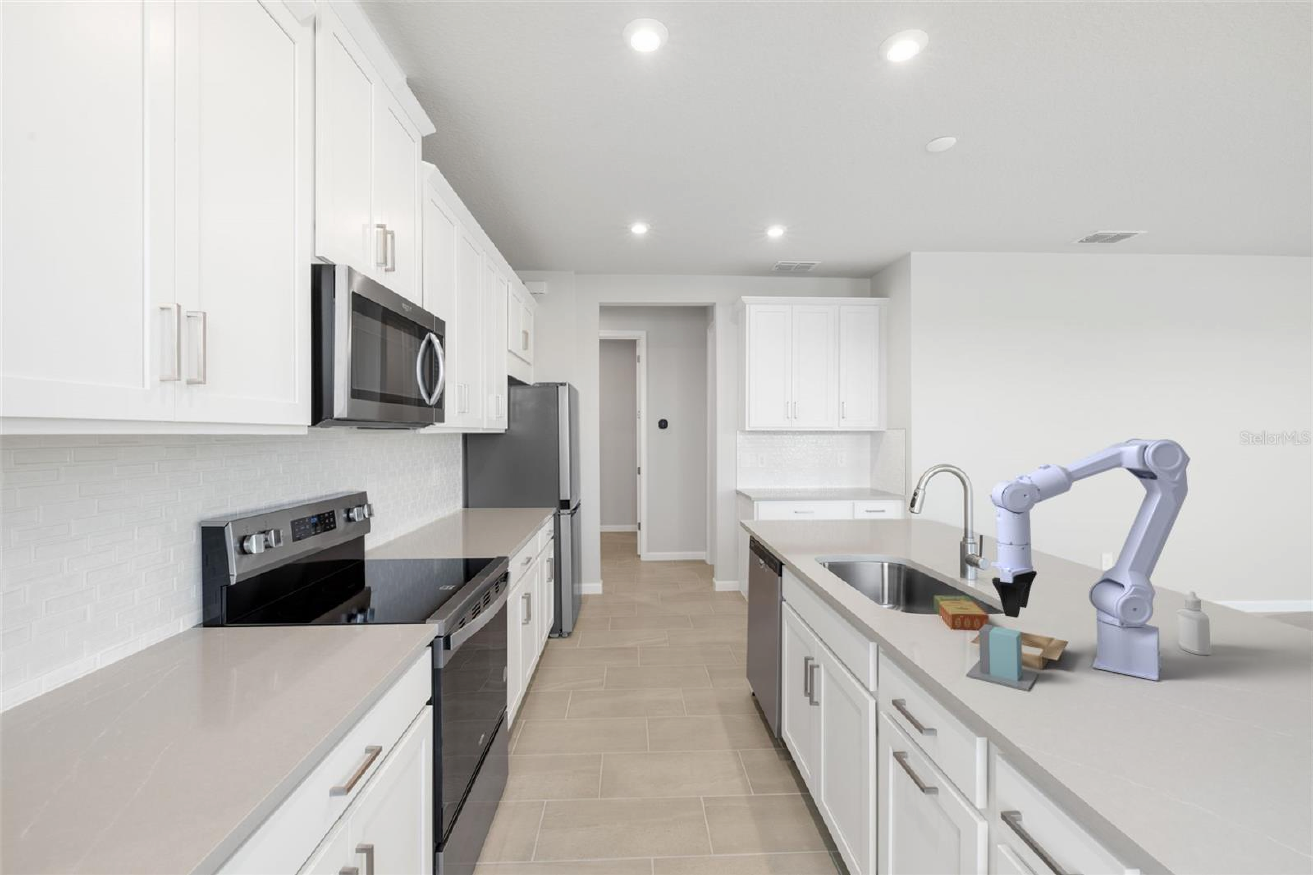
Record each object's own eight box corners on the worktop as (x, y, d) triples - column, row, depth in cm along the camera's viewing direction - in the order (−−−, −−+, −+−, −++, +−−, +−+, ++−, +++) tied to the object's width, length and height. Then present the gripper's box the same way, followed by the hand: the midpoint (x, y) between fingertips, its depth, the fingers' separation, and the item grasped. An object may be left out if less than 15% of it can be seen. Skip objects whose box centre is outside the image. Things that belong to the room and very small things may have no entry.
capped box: (1022, 674, 109) (1021, 630, 109) (1017, 681, 106) (1016, 636, 106) (986, 665, 113) (984, 624, 113) (980, 672, 110) (979, 629, 110)
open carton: (1069, 652, 119) (1068, 640, 119) (1057, 673, 110) (1056, 659, 110) (988, 637, 129) (987, 625, 129) (970, 654, 120) (970, 642, 120)
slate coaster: (1038, 675, 109) (1038, 672, 109) (1028, 691, 102) (1028, 689, 102) (979, 661, 116) (979, 659, 116) (966, 676, 109) (966, 674, 109)
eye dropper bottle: (1181, 653, 117) (1180, 593, 117) (1177, 644, 122) (1175, 587, 122) (1211, 657, 115) (1210, 596, 115) (1205, 648, 119) (1204, 590, 119)
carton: (950, 631, 135) (949, 612, 135) (933, 610, 150) (932, 593, 150) (989, 632, 133) (989, 613, 133) (968, 611, 149) (967, 594, 149)
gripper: (999, 535, 122) (1001, 599, 122) (981, 546, 112) (983, 617, 112) (1039, 538, 118) (1041, 605, 118) (1024, 550, 107) (1026, 624, 107)
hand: (1016, 611), depth 114 cm, fingers open, 7 cm apart
